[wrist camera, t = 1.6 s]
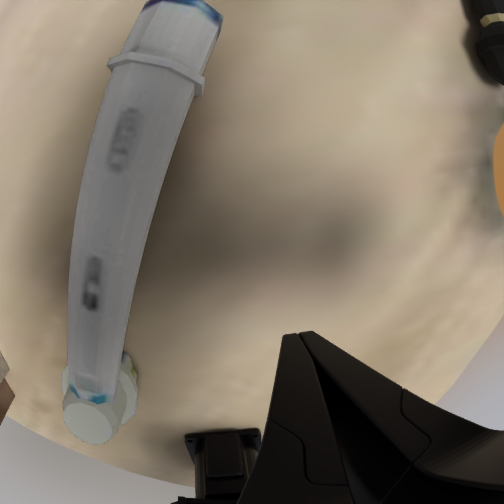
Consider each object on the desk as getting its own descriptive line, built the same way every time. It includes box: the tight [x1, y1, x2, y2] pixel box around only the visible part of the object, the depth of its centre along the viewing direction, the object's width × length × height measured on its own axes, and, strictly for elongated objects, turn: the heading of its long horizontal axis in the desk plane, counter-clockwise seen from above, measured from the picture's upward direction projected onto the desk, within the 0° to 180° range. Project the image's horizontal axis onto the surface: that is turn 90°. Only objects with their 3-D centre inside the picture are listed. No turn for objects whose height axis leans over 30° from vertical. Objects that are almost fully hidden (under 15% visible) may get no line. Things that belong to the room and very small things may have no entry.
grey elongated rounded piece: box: [62, 0, 223, 445], centre depth 14 cm, size 5×7×25 cm
